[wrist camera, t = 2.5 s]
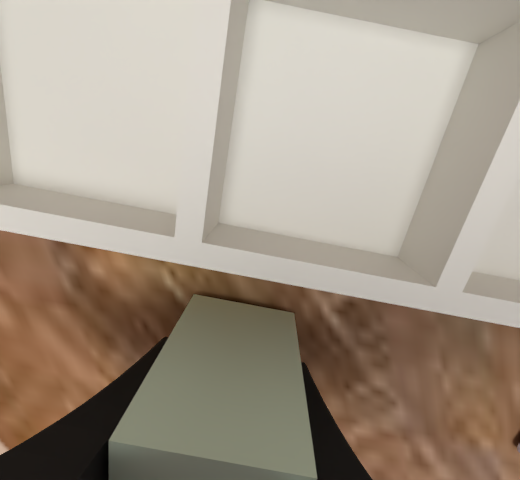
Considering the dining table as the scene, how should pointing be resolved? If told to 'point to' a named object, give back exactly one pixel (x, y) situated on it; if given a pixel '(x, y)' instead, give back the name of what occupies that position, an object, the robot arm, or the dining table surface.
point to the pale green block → (219, 401)
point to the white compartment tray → (275, 140)
